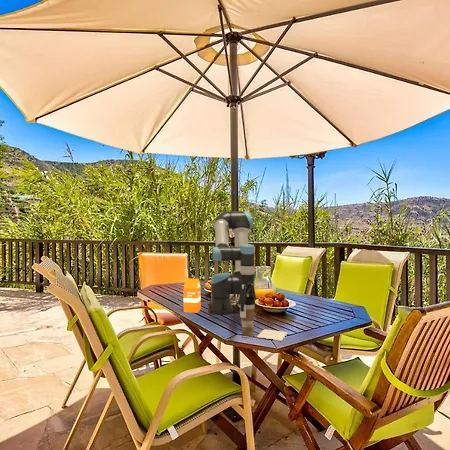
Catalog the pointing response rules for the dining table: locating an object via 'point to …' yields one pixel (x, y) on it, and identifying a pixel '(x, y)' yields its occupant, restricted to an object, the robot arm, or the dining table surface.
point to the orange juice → (192, 295)
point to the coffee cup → (249, 311)
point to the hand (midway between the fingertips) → (247, 314)
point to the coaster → (272, 335)
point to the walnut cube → (248, 330)
